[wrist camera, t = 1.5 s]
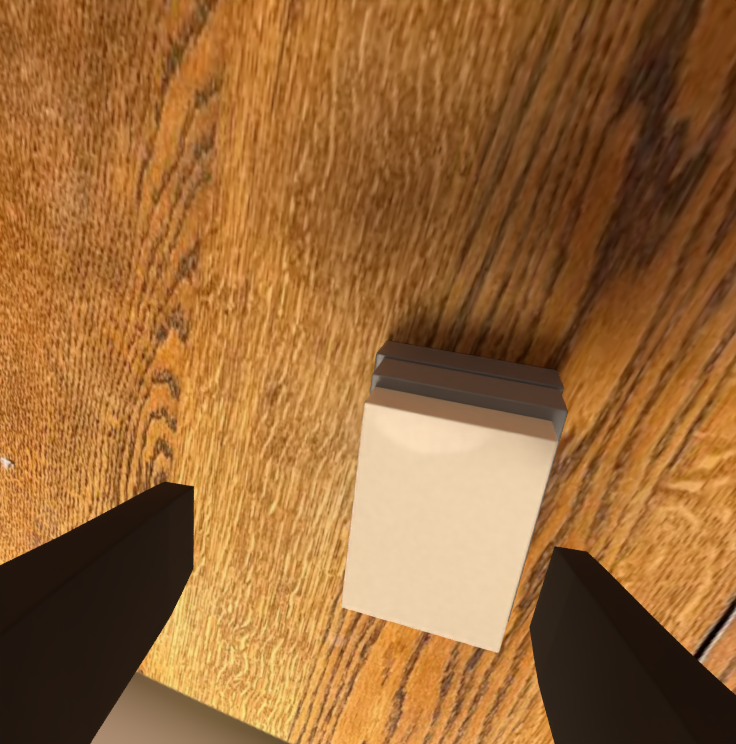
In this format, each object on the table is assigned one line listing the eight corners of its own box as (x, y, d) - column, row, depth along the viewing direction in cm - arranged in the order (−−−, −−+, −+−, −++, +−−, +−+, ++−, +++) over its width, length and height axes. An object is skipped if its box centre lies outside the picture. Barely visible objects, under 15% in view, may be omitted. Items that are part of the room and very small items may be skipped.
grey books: (505, 565, 20) (508, 634, 17) (362, 528, 22) (338, 586, 18) (558, 369, 17) (573, 408, 14) (386, 339, 18) (362, 368, 15)
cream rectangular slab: (498, 620, 17) (498, 654, 16) (351, 579, 18) (340, 607, 17) (553, 420, 14) (559, 441, 13) (374, 385, 15) (363, 402, 14)
